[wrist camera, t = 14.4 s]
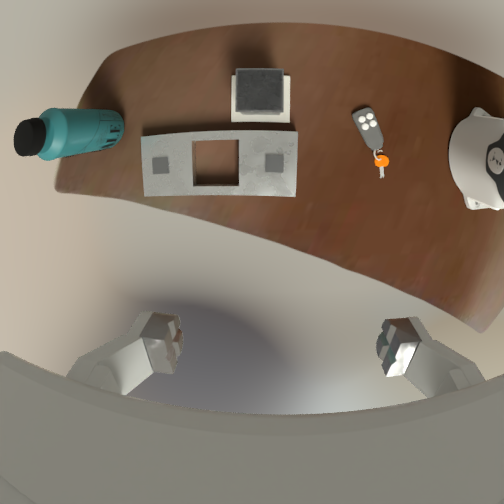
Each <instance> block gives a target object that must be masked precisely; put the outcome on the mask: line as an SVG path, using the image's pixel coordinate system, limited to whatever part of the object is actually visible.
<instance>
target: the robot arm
mask: <svg viewBox="0 0 504 504" xmlns="http://www.w3.org/2000/svg"><path fill="white" fill-rule="evenodd" d="M449 164H450V169H451V173H452V176H453V178H454V181H455V183H456V184H457V186H458V187H459V189H460V190H461V192H462V193H463V195H464V200H465V203H466V206H467V208H469V209H472V210H474V209H482V208H492V209H495V210H499V209H503V208H504V119H502V118H496V117H492V116H490V115H489V114H488V113H487V112H485V111H484V110H483V109H481V108H478V107H475V108H474V109H473V110H472V112H471V114H470V116H469V117H467V118H466V119H464V120H462V121H461V122H460V123H459V124H458V125H457V126H456V128H455V129H454V131H453V133H452V136H451V140H450V145H449ZM475 202H476V203H475ZM179 326H180V319H179V316H178V315H174V314H166V313H158V312H148V311H142V312H141V313H140V315H139V316H138V318H137V319H136V321H135V322H134V324H133V325H132V327H131V329H130V330H129V332H128V333H127V335H121V336H120V337H118V338H116V339H114V340H112V341H110V342H108V343H106V344H104V345H103V346H100V347H99V348H97V349H95V350H93V351H91V352H89V353H87V354H85V355H83V356H81V357H79V358H78V360H77V361H76V362H75V364H74V365H73V367H72V368H71V370H70V371H69V373H68V374H67V376H66V377H64V376H61V375H59V374H56V373H54V372H51V371H49V370H46V369H44V368H41V367H39V366H37V365H34V364H32V363H30V362H27V361H25V360H23V359H21V358H19V357H17V356H15V355H13V354H11V353H9V352H5V351H2V352H0V504H504V374H502V375H500V376H497V377H495V378H492V379H489V380H487V381H486V380H485V379H484V377H483V376H482V374H481V372H480V371H479V369H478V367H477V366H476V364H475V363H474V362H472V361H470V360H469V359H467V358H465V357H464V356H462V355H460V354H459V353H457V352H455V351H454V350H452V349H450V348H449V347H447V346H445V345H444V344H442V343H440V342H439V341H437V340H432V338H431V336H430V335H429V333H428V332H427V330H426V329H425V327H424V326H423V324H422V323H421V321H420V320H419V318H418V317H407V318H398V319H385V321H384V322H383V324H382V330H383V332H382V333H381V334H380V335H379V336H378V339H377V342H376V350H377V354H378V357H379V358H380V359H382V360H383V363H382V368H383V370H384V373H385V375H386V376H387V377H388V376H397V375H404V377H406V378H407V379H408V380H409V381H410V382H411V383H412V384H413V385H414V386H415V387H416V388H418V389H419V390H420V391H421V392H422V393H423V394H424V395H425V396H426V397H427V399H423V400H418V401H413V402H409V403H403V404H398V405H393V406H387V407H380V408H373V409H366V410H358V411H349V412H337V413H323V414H298V415H271V414H270V415H269V414H246V413H231V412H220V411H209V410H202V409H194V408H187V407H181V406H174V405H168V404H163V403H157V402H153V401H148V400H143V399H139V398H134V397H130V396H126V394H127V393H129V392H130V391H131V390H132V389H134V388H135V387H136V386H137V385H139V384H140V383H141V382H142V381H143V380H145V379H146V378H147V377H148V376H150V375H151V374H152V373H153V372H160V373H168V374H173V373H174V371H175V368H176V365H177V358H176V357H177V356H179V355H180V354H181V351H182V347H183V334H182V332H181V330H180V329H179Z"/></svg>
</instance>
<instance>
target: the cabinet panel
mask: <svg viewBox="0 0 504 504" xmlns="http://www.w3.org/2000/svg"><path fill="white" fill-rule="evenodd" d="M230 139H239V184H197V181H196V143H195V141H199V140H230ZM297 144H298V132H292V131H264V130H230V131H202V132H186V133H173V134H163V135H153V136H145V137H141V152H142V170H143V184H144V196H173V195H260V196H290V197H295V196H296V173H297Z"/></svg>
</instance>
